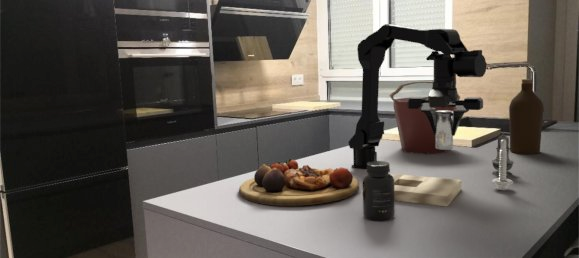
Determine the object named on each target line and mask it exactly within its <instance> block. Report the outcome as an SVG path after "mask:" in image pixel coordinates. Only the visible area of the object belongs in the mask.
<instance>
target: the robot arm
mask: <svg viewBox="0 0 579 258" xmlns="http://www.w3.org/2000/svg"><path fill="white" fill-rule="evenodd" d="M395 40H399V41H404V42H410V43H415V44H420V45H422V46H424V47H426V48H427V49H430V50H432V51H431V53H430V54H429V55H428V56H426V61H433V83H432V88H431V89H430V91H429V93H428V95H427V96H412V97H413V98H410V99H409V100H408V102H407V108H408V109H419V108H420V107H421V110H420V111H421V112H424V113H425V114H426V116H427V118H428V120H429V122H430V125H431V128H432V130H433V133H434V135H436V108H433V107H442V108H445V107H456V110H455V111H454V120H453V129H452V136H453V137H454V136H455V135H456V133H457V130H458V128H459V125H460V122H461V120H462V119H463V117H464V115H465V114H466V113H468V112H470V111H479V110H480V111H481V110H482V109H483V108H484V99H483V98H482V97H479V96H478V97H477V96H476V97H473V96H472V97H471V96H469V97H468V96H467V97H465V98H464V99H459V100H457V99H458V94H459V93H458V89H457V77H459V78H482V77H484V76H485V74H486V72H487V66H488V64H487V61H486V58H485V56H484V55H483V50H482V49H473V50H468V49H467V47H466V45H465V44H464V43H463V42H462V40H461V36H460V34H459V31H457V29H454V28H453V29H451V28H450V29H449V28H444V29H443V28H435V29H422V28H416V27H407V26H402V25H397V24H395V23H394V24H391V23H390V24H389V23H388V24H387V23H386V24H383V25H382V26H381V27H380V28H378V29H377V30H376V31H374V32H372V33H371V34H369V35H368V36H366V38H364V39H362V40H361V41H360V42H359V43H358V44H357V49H356V50H357V58H358V62H359V64H360V66H361V68H362V87H361V113H360V114H361V115H360V117H359V119H358V120H357V123H356V124H355V130H354V131H355V132H354V135H353V136H352V137H351V138H350V139H349V141H348V146H349V149H351V150H353V151H352V153H353V157H352V158H353V164H352V165H351V168H354V169H355V168H357V169H367V163H368V162H372V161H378V156H377V155H378V153H377V151H376V147H379V145H380V142H381V140H382V138H383V135H385V131H384V130H385V129H384V127H385V121H384V120H381V119H380V117H379V115H378V111H379V109H378V108H379V84H380V69H381V67H382V64H383V63H384V62H385V59H386V52H387V51H388V49H389V48H391V47H392V45H393V43H394V41H395ZM440 52H441V53H440ZM452 55H453V56H454V57H452ZM426 97H428V99H429V100H427V98H426Z"/></svg>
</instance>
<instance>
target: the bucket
mask: <svg viewBox="0 0 579 258" xmlns="http://www.w3.org/2000/svg"><path fill="white" fill-rule="evenodd" d="M433 82H434V80H433V81H430V80H420V81H419V80H418V81H411V82H406V83H404V84H400V85H399V86H398V87H397V88H396V89H395V90H394V91H392V92H391V93H390V94H389V97H390V99H391V100H392V101H393V110H394V115H395V121H396V126H397V131H398V135H399V141H400V148H401V149H402V150H403V151H404V152H405V151H406V152H405V153H411V152H413V153H414V154H420V153H422V154H423V155H428V154H431V153H432V154H442V153H446V152H447V151H448V150H441V149H436V135H434V133H433V130H432V128H431V125H430V122H429V120H428V118H427V116H426V114H425V113H424V112H421V111H420V110H421V107H420V108H419V109H408V108H407V102H408V100H409V99H410V98H413V97H414V96H409V97H399V98H394V97H395V95H397V94H398V93H399V92H401V91H402V89H403V88H404V87H407V86H409V85H413V84H415V85H416V84H433ZM425 97H426V98H427V100H429V99H428V96H425ZM457 100H461V95H459V93H458V98H457ZM433 108H436V111H453V112H454V111H455V110H456V107H445V108H442V107H433ZM453 120H454V114H453ZM413 153H412V154H413ZM422 154H421V155H422Z"/></svg>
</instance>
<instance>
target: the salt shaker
mask: <svg viewBox="0 0 579 258" xmlns="http://www.w3.org/2000/svg"><path fill="white" fill-rule="evenodd" d="M503 139H504V140H506V149H507V150H506V151H507V153H506V154H507V155H506V156H507V157H506V158H507V159H506V161H507V162H506V163H507V164H506V165H507V166H506V167H507V168H506V170H507V171H506V172H507V173H506V174H507V175H506V177H510V176H513V173H512V172H511V171H510V170H511V169H513V164H514V163H515V162H514V160H511V159H510V157H509V156H510V155H509V154H510V152H509V151H510V137H508V136H507V135H505V133H504V132H502V134H501V136H498V137H497V147H496V148H495V149H496V150H497V151H496V158H495V159H493V160H491V164H492V167H493V168H494V169H495V171H493V172H492V173H491V174H492V175H494V176H497V175H498V177H499V168H500V167H499V166H500V165H499V164H500V160H499V159H500V158H499V157H500V148H501V140H503Z"/></svg>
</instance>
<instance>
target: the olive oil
mask: <svg viewBox="0 0 579 258" xmlns="http://www.w3.org/2000/svg"><path fill="white" fill-rule="evenodd" d="M520 88H521V90H520V92H518V93H517V94H516V96H514V97H513V98H512V100H511V101H510V104H509V108H508V112H509V113H508V114H509V148H510V150H509V151H510V152H511V153H514V154H520V155H536V154H539V153H541V141H542V131H543V120H544V119H543V118H544V112H545V111H544V110H545V109H544V108H545V107H544V104H543V103H544V102H543V101H542V99H541V98H540V97H539V96H538V95H537V94H536V93H535V92H534V91H533V79H531V78H523V79H521V87H520Z"/></svg>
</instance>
